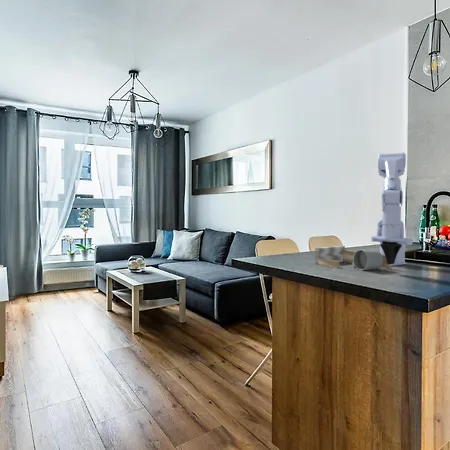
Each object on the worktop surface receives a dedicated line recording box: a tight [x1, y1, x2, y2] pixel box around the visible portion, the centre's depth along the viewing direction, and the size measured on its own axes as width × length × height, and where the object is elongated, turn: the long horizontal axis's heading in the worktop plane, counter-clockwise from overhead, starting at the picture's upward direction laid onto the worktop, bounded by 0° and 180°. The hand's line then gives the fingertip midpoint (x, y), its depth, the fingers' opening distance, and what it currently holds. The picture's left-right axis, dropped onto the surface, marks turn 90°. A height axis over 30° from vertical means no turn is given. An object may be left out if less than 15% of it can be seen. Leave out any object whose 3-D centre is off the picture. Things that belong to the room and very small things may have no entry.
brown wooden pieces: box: [314, 245, 392, 270], centre depth 140 cm, size 15×24×6 cm, turn 30°
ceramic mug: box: [352, 248, 383, 271], centre depth 135 cm, size 11×8×8 cm
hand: (390, 263), depth 125 cm, fingers closed
